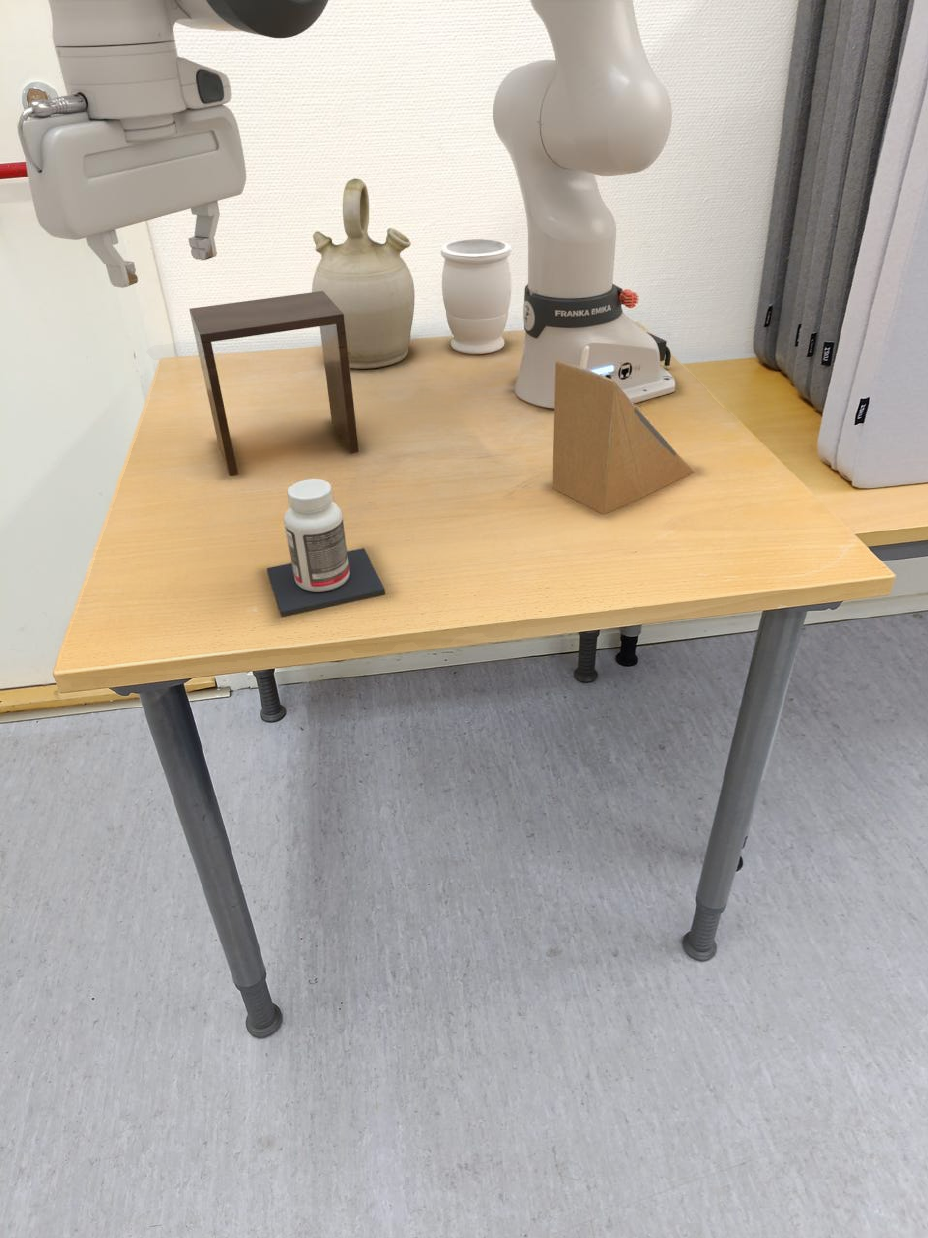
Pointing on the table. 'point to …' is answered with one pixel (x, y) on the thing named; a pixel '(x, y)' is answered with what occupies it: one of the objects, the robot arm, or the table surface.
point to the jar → (476, 293)
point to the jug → (367, 285)
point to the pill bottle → (316, 537)
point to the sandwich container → (606, 443)
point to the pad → (299, 600)
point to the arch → (273, 319)
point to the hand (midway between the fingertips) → (166, 270)
